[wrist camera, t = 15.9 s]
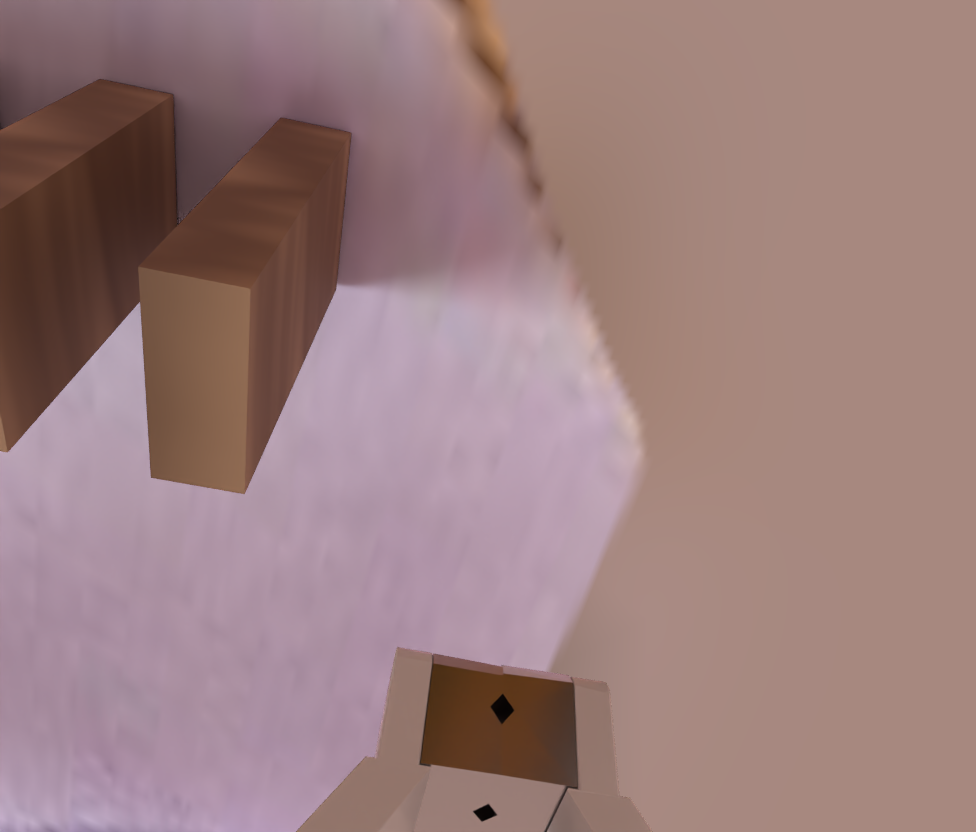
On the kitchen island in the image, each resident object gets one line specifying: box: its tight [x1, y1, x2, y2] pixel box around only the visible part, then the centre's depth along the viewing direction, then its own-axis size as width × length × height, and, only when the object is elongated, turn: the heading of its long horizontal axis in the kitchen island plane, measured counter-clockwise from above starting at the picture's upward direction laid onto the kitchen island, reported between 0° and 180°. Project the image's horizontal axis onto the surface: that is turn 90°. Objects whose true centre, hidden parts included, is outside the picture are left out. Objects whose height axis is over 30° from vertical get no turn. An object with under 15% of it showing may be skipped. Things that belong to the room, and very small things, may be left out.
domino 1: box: [0, 79, 177, 452], centre depth 19 cm, size 2×5×10 cm, turn 169°
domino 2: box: [138, 118, 351, 494], centre depth 20 cm, size 2×5×10 cm, turn 169°
